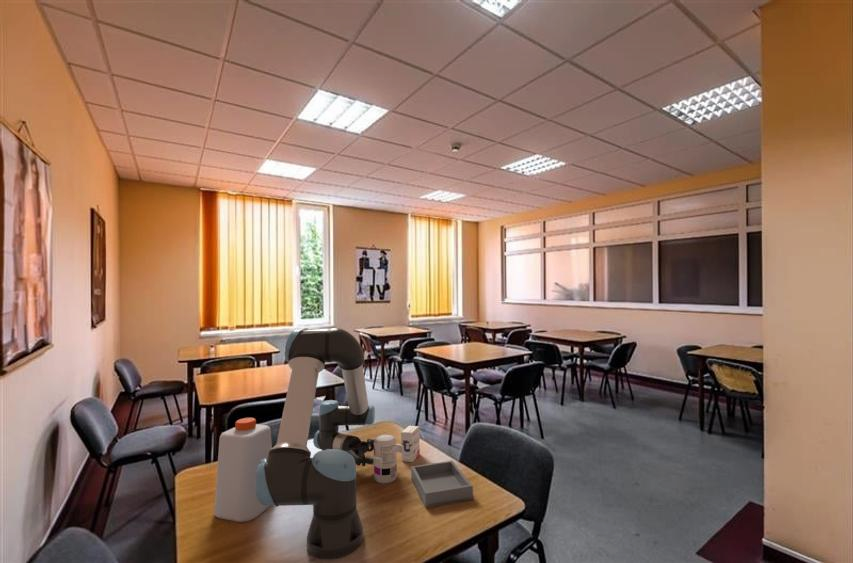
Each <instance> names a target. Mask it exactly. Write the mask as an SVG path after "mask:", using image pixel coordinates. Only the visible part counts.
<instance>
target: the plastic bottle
mask: <svg viewBox="0 0 853 563" xmlns="http://www.w3.org/2000/svg"><path fill="white" fill-rule="evenodd" d="M234 424H235V425H234V426H235V427H232V428H230V429H228V430H226V431H224V432H222V433H221V434H220V436H219V441H218V454H217V455H218V456H217V469H216V470H217V471H216V480H215V481H216V484H215V494H214V495H215V497H214V509H213V513H214V515H215V517H216V518H219V519H222V520H227V521H232V522H238V523H244V522H249V521H251V520H254V519H255V518H257V517H258V516H260V515H261V514H262V513H264V512H265V511H266V510H267V509H268V508H270V507H271V506H265V505H262V504H261V503H260V502H259V501H258V499H257V495H256V490H255V476H256V470H257V466H258V465H259V462H260V461H261V460H262V459H264V458H268V454H269V450H270V449H271V448H273V444H272V432H271V431H272V430H271V427H270V426H269V425H267V424H259V423H257V420H256V418H254V417H244V418H240V419H238V420H236V421H235V423H234Z"/></svg>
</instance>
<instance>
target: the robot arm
mask: <svg viewBox="0 0 853 563" xmlns="http://www.w3.org/2000/svg"><path fill="white" fill-rule="evenodd" d="M284 358H285V361H286V362H287V363H288V367H289V368H290V369H291V372H290V377H289V378H290V379H289V382H288V387H287V391H286V397H285V401H284V405H283V406H284V407H283V411H282V416H281V419H280V420H281V421H280V425H279V431H278V434H277V440H276V444H275V445H274V446H272V448H271V449H270V450H269V454H268V458H264V459H262V460H261V461H260V462H259V465H258V466H257V470H256V476H255V490H256V495H257V499H258V501H259V502H260V503H261V504H262V505H265V506H270V507H276V508H278V507H280V506H283V507H284V506H312V507H313V508H312V510H313V511H312V513H313V514H312V518H311V522H310V524H309V528H308V531H307V535H306V548H307V551H308V553H309V554H311V555H312V556H313V557H315V558H316V557H317V558H319V559H325V560H327V559H337V558H341V557H344V556H347V555H349V554H351V553H352V552H355V550H357V549H358V548H359V547H360V545H361V544H362V543H363V540H364V526H363V524H362V520H361V517H360V514H359V512H358V509H357V475H358V474H357V473H358V472H357V467H356V466H361V465H362V467H366V465H370V466H373V467H374V466H378V467H382V458H378V457H374V455H368V454H367V455H365V454H366V453H369V452H373V451H374V441H375V438H374V439H373V438H367V439H366V441H365V440H361V438H360V437H359V436H356V435H351V434H347V433H341V432H339V426H340V427H341V426H369V425H371V426H372V425H373V424H374V422H375V417H376V408H375V406H374V405H371V404H369V400H368V393H367V392H368V391H367V387H366V381H365V380H366V379H365V373H364V367H363V364H365V353H364V349H363V348H362V346H361V344H360V342H359V341H358V339H357V338H356V337H355V336H354V335H352V333H350V332H349V331H346V330H345V329H343V328H339V327H327V328H307V327H305V328H298V329H295V330H293V331H291V332H290V333H289V335H288V336H287V339H286V342H285V346H284ZM326 363H337V364H336V365H337V366H338V368H339V369H341V373H342V378H343V383H344V388H345V389H344V390H345V392H346V393H345V394H346V399H347V404H348V405H339V401H338V400H336V399H335V400H333V399H329V400H324V401H322V402H321V403H320V404H319V410H318V411H319V413H318V416H319V418H318V422H319V424H318V425H319V429H318V430H317V431H316V432H315V434H314V437H313V445H314V447H315V448H316V449H318V450H319V451H317V452H316V453H315V452H314V454H313V456H312V457H311V454H312V453H311V451H310V449H309V447H308V440H309V435H310V429H311V428H310V427H311V421H312V416H313V410H314V403H315V397H316V391H317V385H318V380H319V373H320V372H322V371H323V370H324V369H325V364H326ZM396 453H399V454H400V453H401V454H402V453H403V445H401V444H400V443H396Z"/></svg>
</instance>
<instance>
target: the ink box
mask: <svg viewBox="0 0 853 563" xmlns="http://www.w3.org/2000/svg"><path fill="white" fill-rule="evenodd" d="M400 434H401V436H400V437H401V442H400V443H401V444H400V445H403V453H401V461H402V462H406V463H408V462H409V463H414V461H415V460H416V459H417V458H418V457H419V455H420V454H421V453H420V451H421V449H420V445H421V444H420V426H418V425H408V426H407V427H406V428H405V429H403V430H402V431H401V433H400Z"/></svg>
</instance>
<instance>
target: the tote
mask: <svg viewBox="0 0 853 563" xmlns="http://www.w3.org/2000/svg"><path fill="white" fill-rule="evenodd" d="M410 474H411V475H410V476H411V481H412V483H413V484H414V487H415V489H416V491H417V493H418V495H419V497H420V500H421V502H422V504H423V506H424V508H425V509H429V508H433V507H440V506H447V505H452V504H457V503H462V502H469V501H474V488H473V487H474V486H473V484H472V483H471V482H470V480H469V479H468V478H467V477H466V476H465V474H464V473H463V472H462V471H461V469H460V468H459V467H458V465H457V464H456V463H455V462H454V461H453V460H448V461H447V460H446V461H441V462H433V463H426V464H420V465H412V466H411V467H410Z"/></svg>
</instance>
